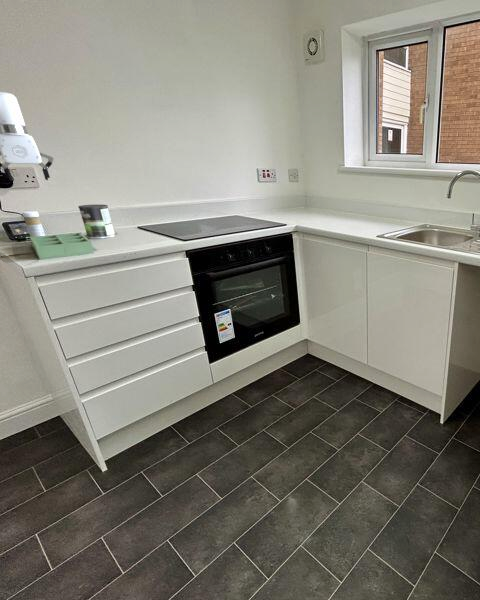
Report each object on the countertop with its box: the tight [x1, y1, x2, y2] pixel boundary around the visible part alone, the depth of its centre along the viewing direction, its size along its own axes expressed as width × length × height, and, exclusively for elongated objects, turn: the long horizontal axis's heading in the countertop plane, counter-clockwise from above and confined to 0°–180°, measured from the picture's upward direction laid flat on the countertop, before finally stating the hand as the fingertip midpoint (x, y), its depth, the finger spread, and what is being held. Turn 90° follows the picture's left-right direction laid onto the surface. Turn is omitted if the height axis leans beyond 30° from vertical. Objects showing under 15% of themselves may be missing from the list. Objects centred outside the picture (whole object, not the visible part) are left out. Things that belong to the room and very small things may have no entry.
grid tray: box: [29, 232, 95, 260], centre depth 138 cm, size 15×23×5 cm
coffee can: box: [77, 204, 116, 240], centre depth 161 cm, size 10×10×14 cm
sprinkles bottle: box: [21, 210, 46, 238], centre depth 143 cm, size 5×5×14 cm
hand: (29, 180), depth 134 cm, fingers open, 9 cm apart
